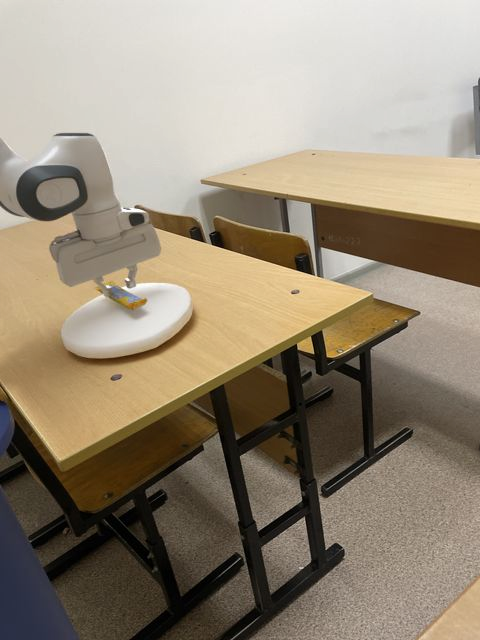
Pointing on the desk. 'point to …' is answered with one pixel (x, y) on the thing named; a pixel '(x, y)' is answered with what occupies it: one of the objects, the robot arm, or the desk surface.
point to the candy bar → (124, 297)
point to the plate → (127, 322)
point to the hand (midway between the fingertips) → (120, 291)
